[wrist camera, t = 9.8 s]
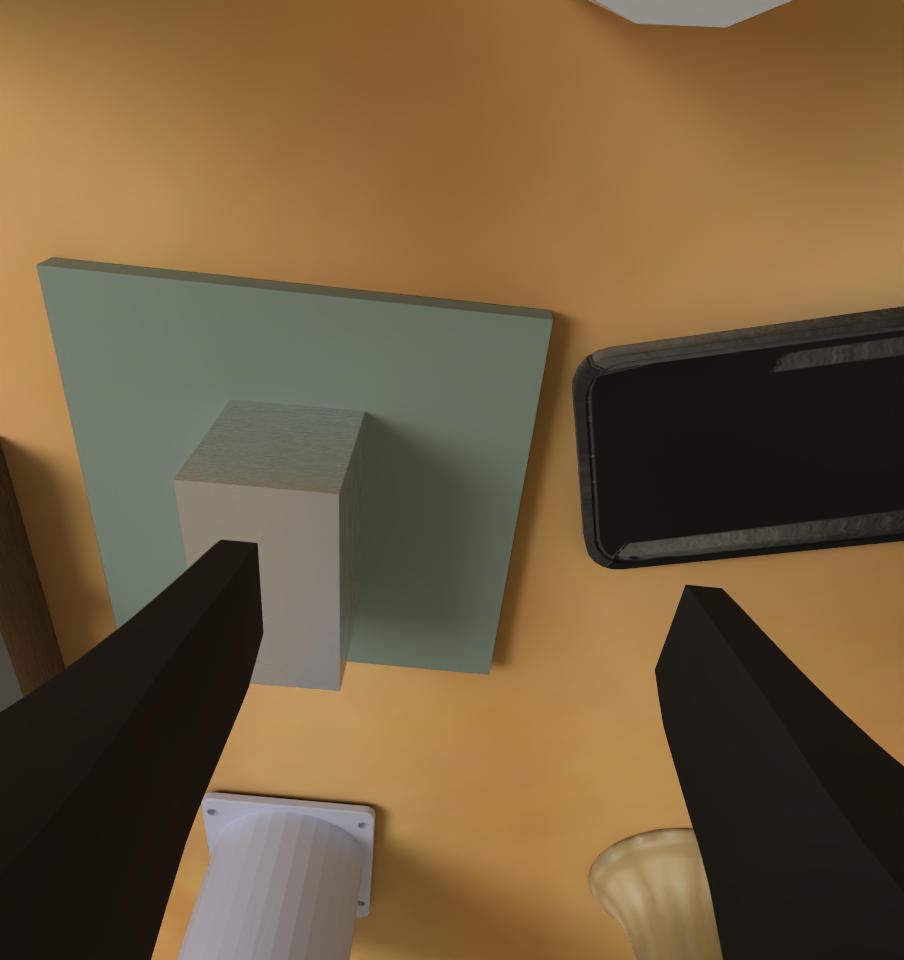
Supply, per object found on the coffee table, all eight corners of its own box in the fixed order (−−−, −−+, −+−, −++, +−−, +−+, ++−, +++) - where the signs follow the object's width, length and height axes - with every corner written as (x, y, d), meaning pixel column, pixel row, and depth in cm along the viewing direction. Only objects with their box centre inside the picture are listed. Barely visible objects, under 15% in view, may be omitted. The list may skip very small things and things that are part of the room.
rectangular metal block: (362, 589, 24) (340, 690, 20) (248, 579, 24) (204, 679, 20) (365, 411, 21) (338, 494, 17) (230, 399, 21) (173, 480, 17)
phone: (1064, 524, 22) (587, 573, 24) (1039, 504, 23) (583, 553, 25) (1156, 279, 18) (572, 359, 20) (1122, 267, 19) (567, 344, 21)
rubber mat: (488, 658, 27) (489, 674, 26) (128, 624, 27) (119, 640, 26) (550, 309, 20) (552, 319, 19) (52, 257, 19) (36, 264, 19)
